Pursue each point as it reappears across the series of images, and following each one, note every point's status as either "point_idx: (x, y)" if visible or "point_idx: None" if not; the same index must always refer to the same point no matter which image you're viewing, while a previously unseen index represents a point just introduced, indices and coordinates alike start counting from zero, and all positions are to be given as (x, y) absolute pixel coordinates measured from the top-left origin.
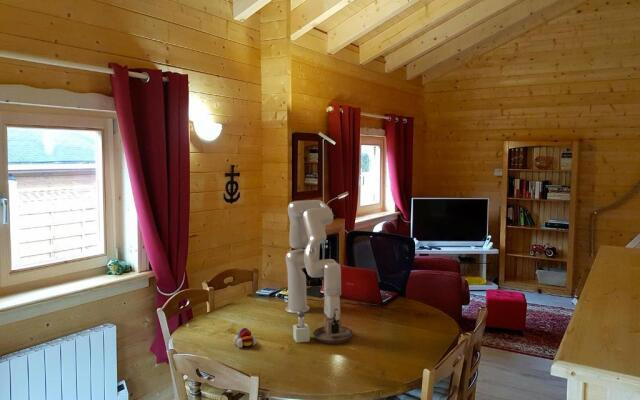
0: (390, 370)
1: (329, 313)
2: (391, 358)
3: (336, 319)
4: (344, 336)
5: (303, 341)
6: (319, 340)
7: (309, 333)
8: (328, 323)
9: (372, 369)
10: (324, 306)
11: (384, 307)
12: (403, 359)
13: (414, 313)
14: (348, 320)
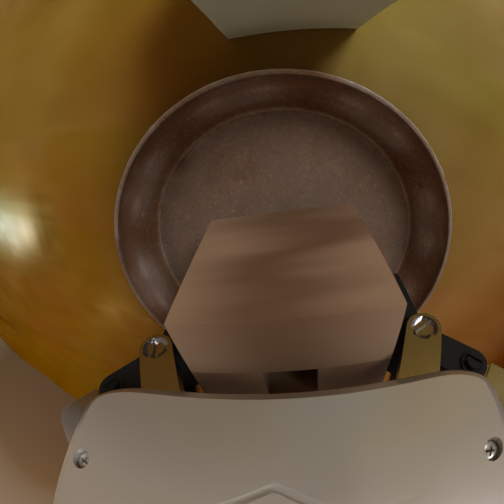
0: (18, 337)
1: (91, 462)
2: (73, 369)
3: (70, 410)
4: None
5: None
6: (187, 123)
7: (209, 18)
8: (174, 308)
9: (2, 306)
10: (484, 491)
11: None
12: (79, 383)
13: None
14: (479, 342)
